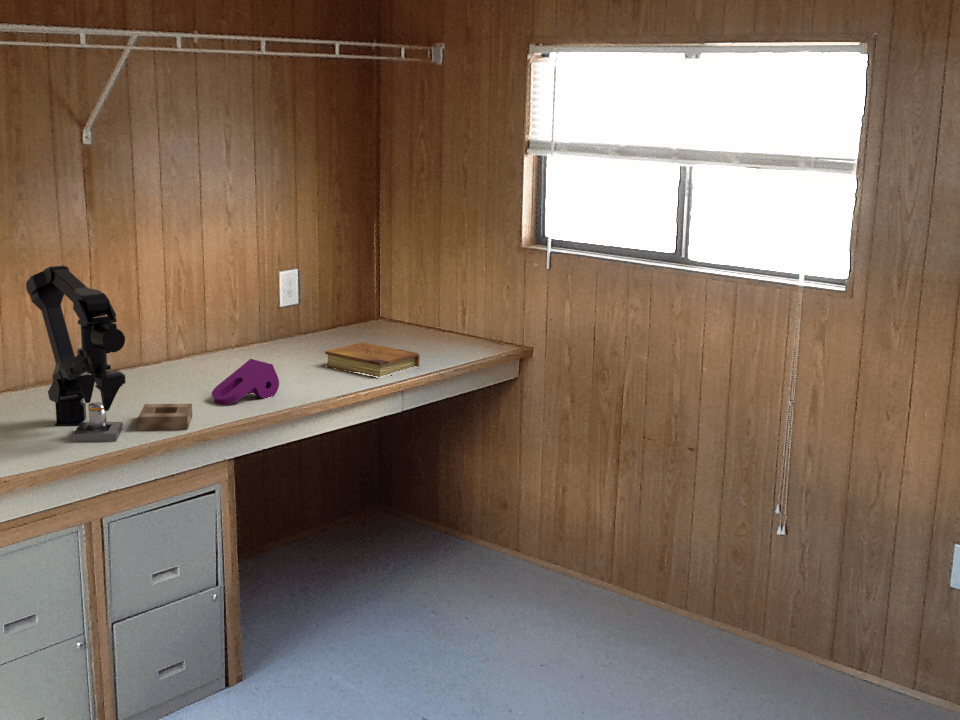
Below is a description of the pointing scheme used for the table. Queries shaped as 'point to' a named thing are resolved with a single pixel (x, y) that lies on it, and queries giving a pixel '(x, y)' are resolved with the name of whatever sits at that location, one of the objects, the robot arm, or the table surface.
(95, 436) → the pin mount
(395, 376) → the table surface
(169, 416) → the socket block
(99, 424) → the steel pin
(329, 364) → the diary
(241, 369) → the mounting bracket
